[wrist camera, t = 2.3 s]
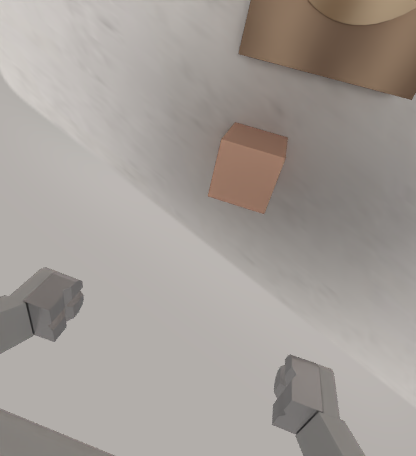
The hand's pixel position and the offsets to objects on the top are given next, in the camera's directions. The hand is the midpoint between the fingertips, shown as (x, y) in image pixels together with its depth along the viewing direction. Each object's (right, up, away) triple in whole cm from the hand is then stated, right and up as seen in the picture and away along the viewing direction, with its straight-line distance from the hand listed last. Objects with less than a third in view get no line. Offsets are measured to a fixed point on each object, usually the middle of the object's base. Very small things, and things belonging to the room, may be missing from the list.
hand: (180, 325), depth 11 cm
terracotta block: (+5, +11, +17) cm, 21 cm away
